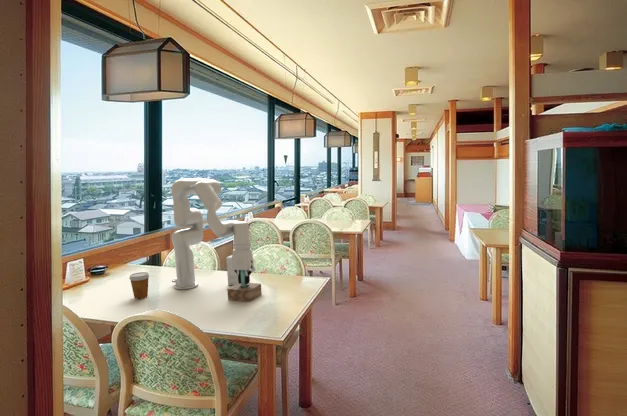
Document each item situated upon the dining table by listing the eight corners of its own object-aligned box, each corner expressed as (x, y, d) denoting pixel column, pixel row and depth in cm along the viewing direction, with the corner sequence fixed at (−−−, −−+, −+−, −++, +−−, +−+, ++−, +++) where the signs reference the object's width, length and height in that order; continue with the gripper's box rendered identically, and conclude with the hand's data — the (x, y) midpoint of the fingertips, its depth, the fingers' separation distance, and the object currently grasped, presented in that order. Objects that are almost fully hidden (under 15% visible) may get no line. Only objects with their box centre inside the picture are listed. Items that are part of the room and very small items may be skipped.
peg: (240, 291, 206) (238, 268, 205) (243, 290, 209) (242, 266, 208) (245, 292, 205) (244, 268, 204) (248, 290, 208) (247, 266, 207)
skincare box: (238, 285, 228) (236, 257, 226) (227, 285, 229) (225, 257, 227) (244, 281, 236) (242, 254, 234) (233, 281, 237) (231, 254, 236)
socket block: (228, 299, 204) (227, 288, 203) (241, 292, 215) (240, 282, 214) (249, 301, 200) (248, 290, 199) (261, 294, 211) (261, 283, 210)
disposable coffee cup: (155, 294, 217) (153, 272, 216) (142, 300, 208) (140, 277, 207) (140, 293, 220) (138, 271, 219) (126, 299, 211) (124, 276, 210)
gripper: (223, 247, 204) (225, 284, 206) (252, 248, 198) (254, 286, 200) (232, 244, 211) (234, 280, 213) (260, 245, 205) (262, 282, 207)
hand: (244, 282), depth 207 cm, fingers closed on peg, 3 cm apart
